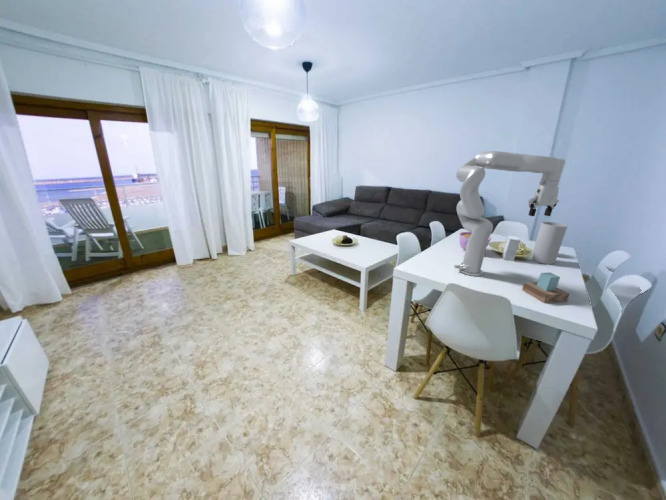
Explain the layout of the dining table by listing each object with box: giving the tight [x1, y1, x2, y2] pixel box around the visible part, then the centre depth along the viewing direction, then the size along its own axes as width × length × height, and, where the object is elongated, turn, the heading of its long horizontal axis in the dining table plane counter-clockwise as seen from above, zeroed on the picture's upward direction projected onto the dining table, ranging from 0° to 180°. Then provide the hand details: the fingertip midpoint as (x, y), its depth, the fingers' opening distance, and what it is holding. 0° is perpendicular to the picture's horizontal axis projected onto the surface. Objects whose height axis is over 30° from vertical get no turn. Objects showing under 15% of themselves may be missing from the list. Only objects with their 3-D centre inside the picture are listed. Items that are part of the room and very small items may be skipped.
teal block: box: [537, 272, 561, 291], centre depth 119 cm, size 5×5×7 cm
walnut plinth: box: [521, 281, 570, 304], centre depth 121 cm, size 12×12×4 cm
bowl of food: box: [459, 231, 492, 251], centre depth 179 cm, size 20×20×12 cm
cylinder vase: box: [530, 221, 568, 265], centre depth 161 cm, size 12×12×25 cm
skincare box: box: [501, 235, 521, 262], centre depth 166 cm, size 8×6×15 cm
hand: (539, 215), depth 137 cm, fingers open, 9 cm apart
